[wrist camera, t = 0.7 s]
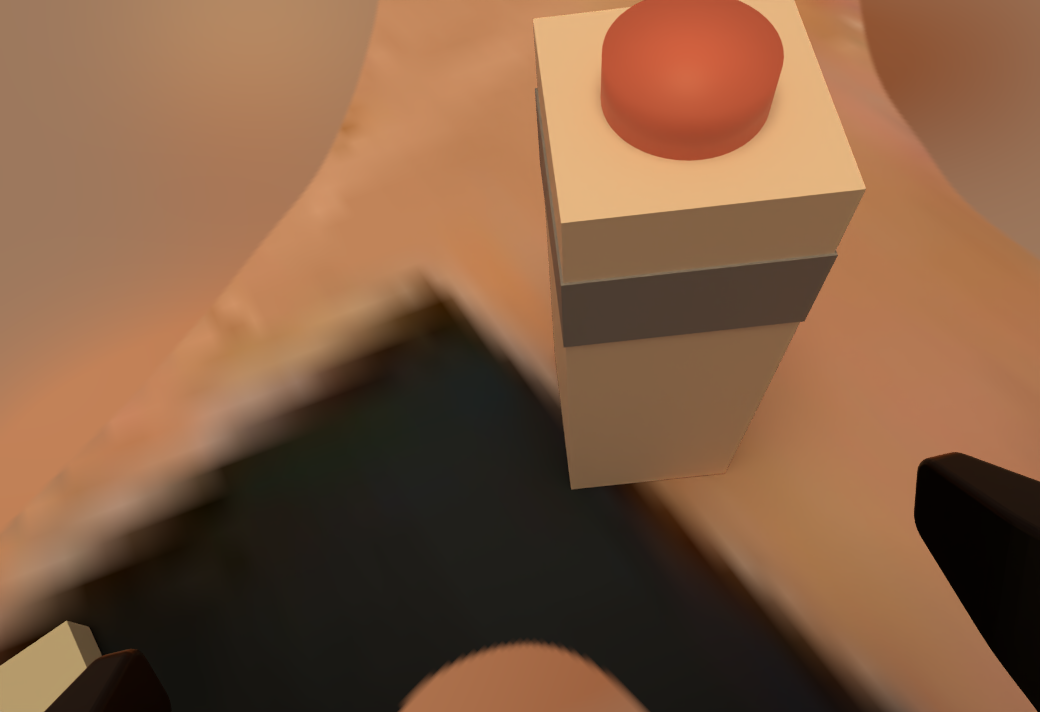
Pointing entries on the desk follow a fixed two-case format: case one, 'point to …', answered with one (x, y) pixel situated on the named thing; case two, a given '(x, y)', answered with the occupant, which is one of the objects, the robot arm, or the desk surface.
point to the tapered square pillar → (681, 222)
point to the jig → (46, 668)
